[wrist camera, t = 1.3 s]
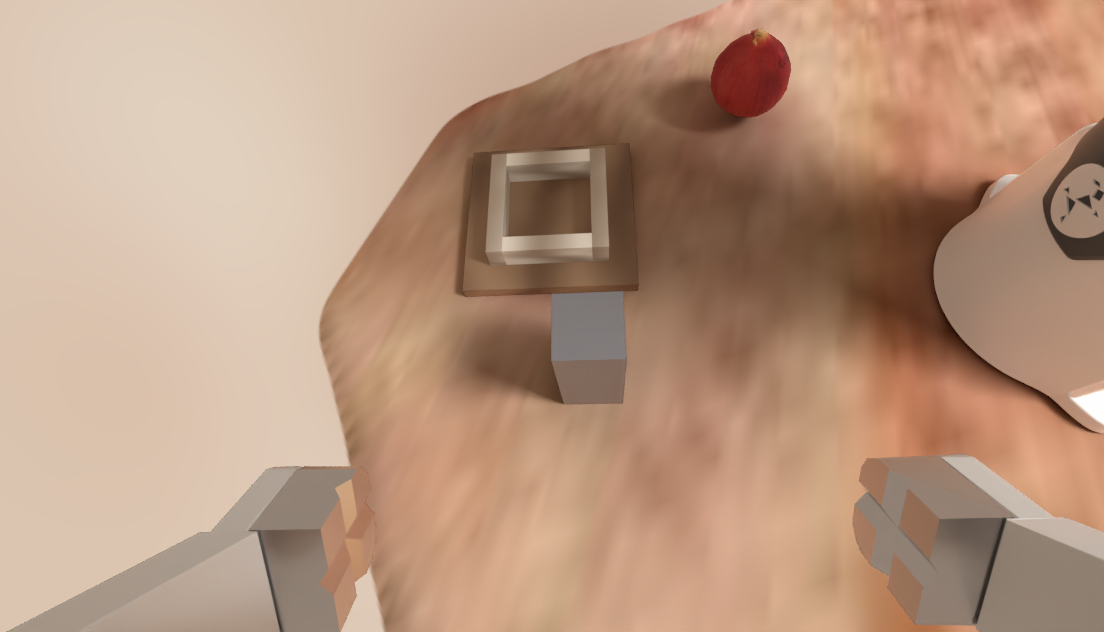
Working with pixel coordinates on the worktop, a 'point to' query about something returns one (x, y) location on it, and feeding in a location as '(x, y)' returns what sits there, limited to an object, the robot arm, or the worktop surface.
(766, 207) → the worktop surface
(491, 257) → the socket board
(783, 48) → the onion
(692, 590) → the worktop surface
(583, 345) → the plug
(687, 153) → the worktop surface
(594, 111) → the worktop surface
